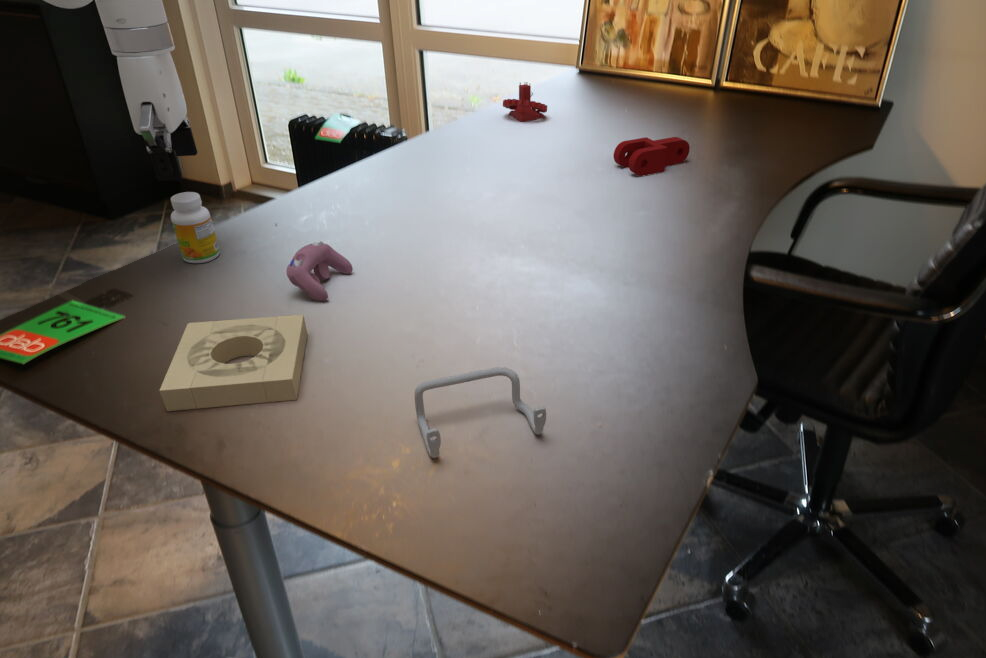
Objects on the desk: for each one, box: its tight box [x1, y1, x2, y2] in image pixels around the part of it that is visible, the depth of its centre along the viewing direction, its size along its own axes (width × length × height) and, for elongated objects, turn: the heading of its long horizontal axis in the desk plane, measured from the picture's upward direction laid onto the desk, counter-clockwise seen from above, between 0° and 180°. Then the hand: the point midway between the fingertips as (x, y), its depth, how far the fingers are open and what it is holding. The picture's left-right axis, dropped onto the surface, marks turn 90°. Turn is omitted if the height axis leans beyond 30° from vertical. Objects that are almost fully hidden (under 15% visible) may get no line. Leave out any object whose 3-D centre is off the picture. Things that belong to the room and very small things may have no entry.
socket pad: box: [159, 314, 308, 412], centre depth 84 cm, size 14×14×3 cm
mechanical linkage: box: [613, 136, 691, 177], centre depth 145 cm, size 16×7×5 cm, turn 119°
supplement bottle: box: [170, 191, 220, 264], centre depth 106 cm, size 5×5×10 cm
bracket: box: [414, 366, 547, 459], centre depth 76 cm, size 13×8×5 cm, turn 110°
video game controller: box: [286, 241, 354, 302], centre depth 101 cm, size 10×5×7 cm, turn 168°
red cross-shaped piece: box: [502, 82, 548, 123], centre depth 170 cm, size 11×12×8 cm
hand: (178, 166), depth 101 cm, fingers open, 9 cm apart
